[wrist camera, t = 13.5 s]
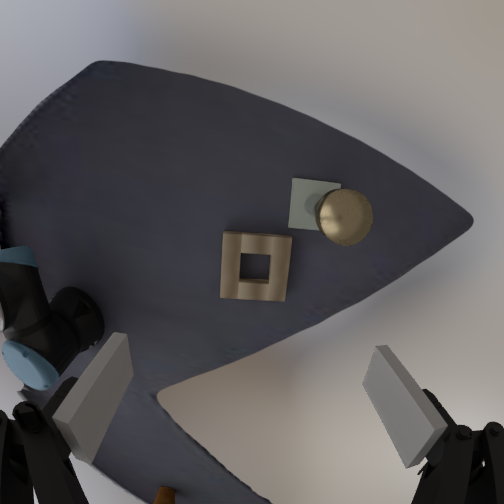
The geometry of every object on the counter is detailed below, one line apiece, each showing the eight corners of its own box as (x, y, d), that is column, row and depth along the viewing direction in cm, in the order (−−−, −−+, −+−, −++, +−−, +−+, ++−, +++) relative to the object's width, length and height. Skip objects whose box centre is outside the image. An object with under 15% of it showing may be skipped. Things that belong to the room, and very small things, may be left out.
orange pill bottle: (151, 486, 74) (145, 508, 62) (165, 483, 73) (160, 506, 61) (168, 495, 76) (164, 517, 64) (183, 492, 75) (180, 515, 63)
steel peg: (294, 222, 50) (317, 243, 34) (298, 184, 48) (324, 186, 32) (331, 226, 50) (368, 247, 34) (335, 188, 49) (375, 193, 32)
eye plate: (221, 292, 53) (220, 297, 51) (224, 230, 51) (223, 233, 48) (283, 296, 54) (284, 301, 52) (289, 235, 51) (292, 238, 49)
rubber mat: (288, 227, 51) (288, 227, 50) (292, 177, 49) (293, 177, 48) (334, 231, 51) (335, 231, 51) (339, 183, 49) (340, 183, 48)
